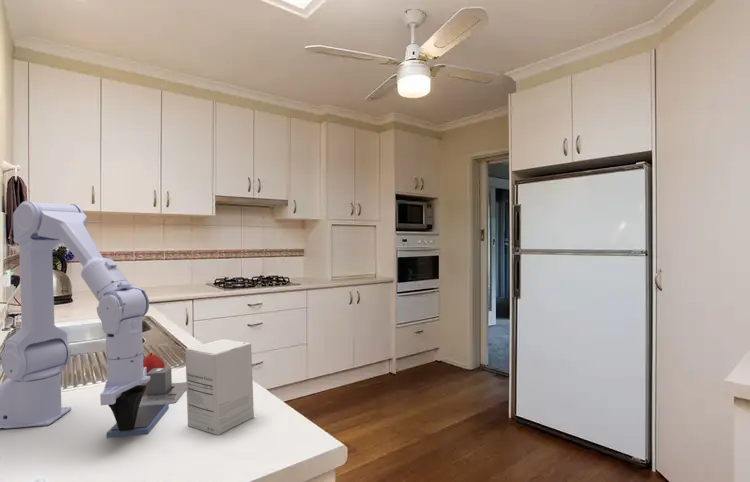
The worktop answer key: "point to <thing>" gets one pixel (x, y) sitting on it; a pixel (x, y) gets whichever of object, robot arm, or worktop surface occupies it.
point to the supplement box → (219, 385)
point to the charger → (159, 381)
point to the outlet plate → (165, 399)
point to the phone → (141, 421)
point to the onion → (152, 362)
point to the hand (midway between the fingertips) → (126, 429)
